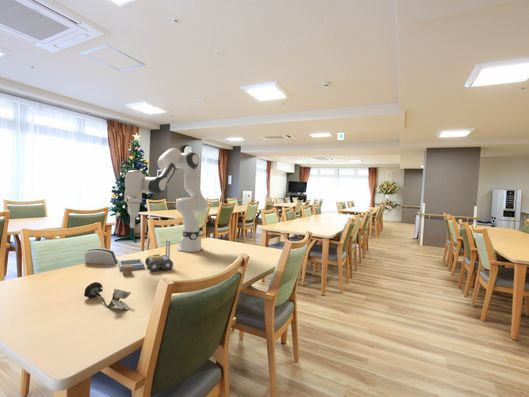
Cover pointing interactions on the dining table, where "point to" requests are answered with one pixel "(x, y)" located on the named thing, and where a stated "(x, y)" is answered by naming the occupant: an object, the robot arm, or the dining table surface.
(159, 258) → the trolley
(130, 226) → the pin
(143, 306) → the dining table surface
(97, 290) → the artificial flower
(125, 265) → the chock
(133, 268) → the tray
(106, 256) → the grey curved block
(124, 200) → the robot arm
